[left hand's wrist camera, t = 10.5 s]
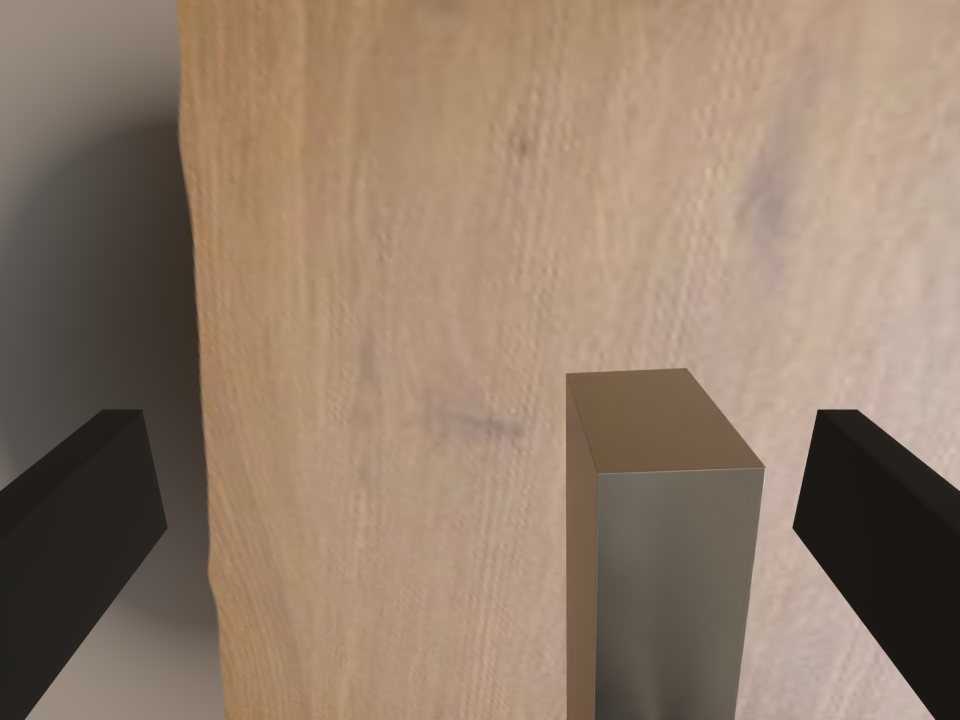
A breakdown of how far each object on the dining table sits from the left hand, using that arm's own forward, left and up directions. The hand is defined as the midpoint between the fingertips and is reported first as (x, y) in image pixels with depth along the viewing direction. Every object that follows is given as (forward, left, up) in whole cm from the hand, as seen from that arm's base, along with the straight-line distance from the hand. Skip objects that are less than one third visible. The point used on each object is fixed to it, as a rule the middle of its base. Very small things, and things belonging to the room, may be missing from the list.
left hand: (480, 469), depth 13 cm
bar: (+15, +12, -16) cm, 25 cm away
